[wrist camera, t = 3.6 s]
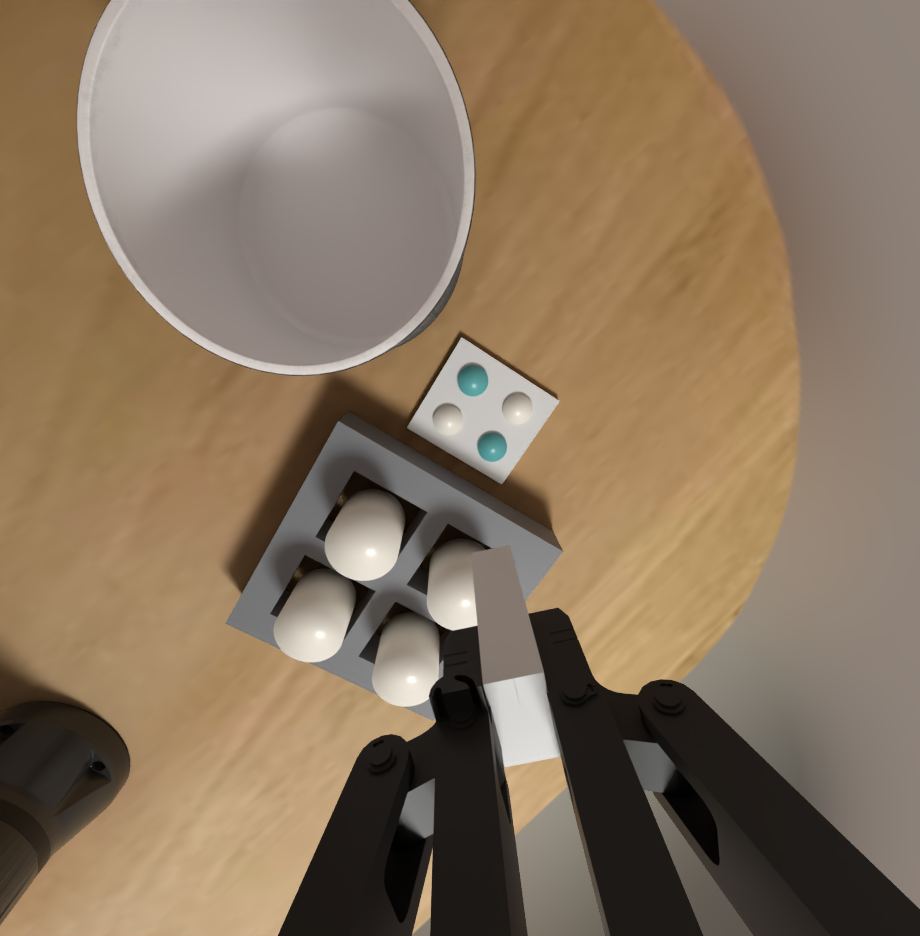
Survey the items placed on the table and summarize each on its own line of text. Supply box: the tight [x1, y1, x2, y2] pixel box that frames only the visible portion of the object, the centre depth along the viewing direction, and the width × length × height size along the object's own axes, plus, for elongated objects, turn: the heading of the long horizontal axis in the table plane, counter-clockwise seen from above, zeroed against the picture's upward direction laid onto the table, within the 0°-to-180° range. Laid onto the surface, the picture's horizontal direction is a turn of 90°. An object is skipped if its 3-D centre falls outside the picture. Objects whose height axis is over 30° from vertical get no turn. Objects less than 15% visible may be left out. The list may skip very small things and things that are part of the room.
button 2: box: [325, 489, 405, 581], centre depth 37 cm, size 6×6×6 cm
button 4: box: [427, 539, 485, 631], centre depth 39 cm, size 6×6×6 cm
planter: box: [77, 0, 476, 376], centre depth 28 cm, size 18×18×16 cm
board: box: [225, 412, 563, 720], centre depth 43 cm, size 22×22×4 cm
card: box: [407, 337, 559, 484], centre depth 40 cm, size 10×9×1 cm
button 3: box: [372, 612, 440, 707], centre depth 41 cm, size 6×6×6 cm
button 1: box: [273, 568, 357, 662], centre depth 40 cm, size 6×6×6 cm
